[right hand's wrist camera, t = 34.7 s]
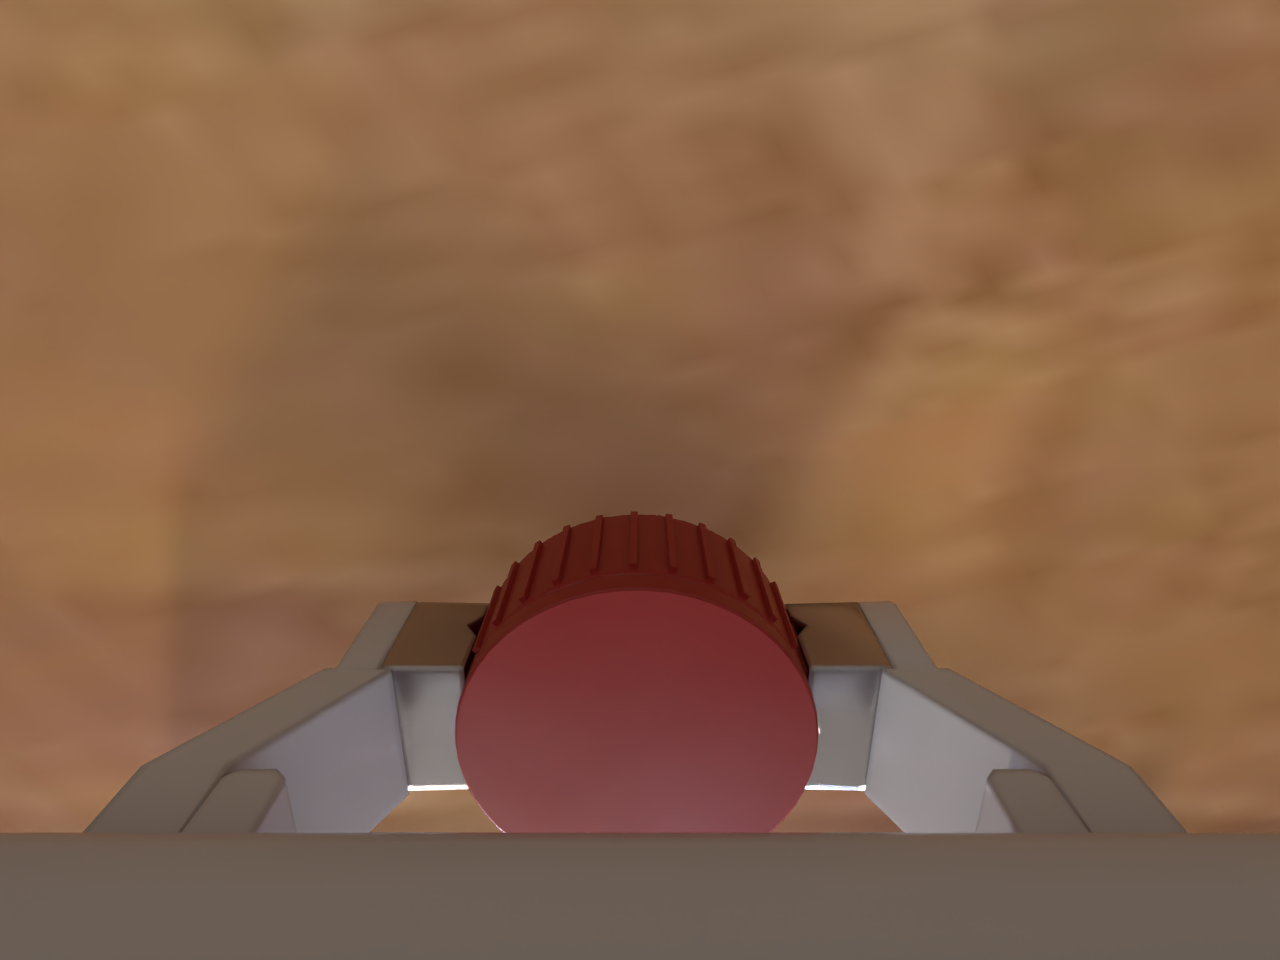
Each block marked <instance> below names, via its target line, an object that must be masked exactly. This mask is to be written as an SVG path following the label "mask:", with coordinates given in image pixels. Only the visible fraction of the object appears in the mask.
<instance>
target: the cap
mask: <svg viewBox="0 0 1280 960" xmlns="http://www.w3.org/2000/svg"><path fill="white" fill-rule="evenodd" d="M797 639H798V636H797V633H796V630H795V627H794V625H793V624H792V623H790V620H789V617H788V614H787V612H786V609H785V606H784V603H783V600H782V597H781V595H780V592H779V589H778V586H777V584H776V583H775V581H774V582H772V583H770V582H769V580H768V578H767V577H766V575H765V574H764V573H763V572H762V569H761V566H760V563H759V561H758V560H757V559H756V558H754V559H753V560H752V559H750V558H749V557H748V556H747V555H746V554H745V553H744V552H743V551H741V550H740V549H739V548H738V547H736V543H735V540H733V539H731V538H729V539H728V540H726V539H724V538H723V537H721V536H719V535H717V534H715V533H714V532H712V531H709V530H708V529H706V526H705V525H704V524H702V523H699V525H698V526H697V525H694V524H691V523H688V522H685V521H681V520H676V519H673V517H672V515H670V514H666V516H665V517H663V516H656V515H638V512H631V515H621V516H614V517H603V515H599V516H596V520H593V521H590V522H587V523H583V524H580V525H577V526H575V527H572V528H571V527H570V525H567V526H565V527H564V528H563V532H561V533H559V534H557V535H555V536H553V537H552V538H550V539H548V540H547V541H545V542H543V543H542V542H541V541H538V542H537V543H535V546H534V549H533V551H532V552H530V553H529V554H528V555H527V556H526V557H525V558H524V559H523V560H522V561H521V562H520V563H517V562H516V561H515V562H514V563H513V564H512V566H511V569H510V572H509V575H508V577H507V579H506V580H505V582H504V583H503V585H502V587H499V586H496V588H495V590H494V593H493V596H492V598H491V601H490V604H489V606H488V609H487V612H486V615H485V617H484V620H483V623H482V625H481V628H480V630H479V631H478V634H477V637H476V642H475V644H474V647H473V650H472V651H473V652H475V655H474V658H473V661H472V663H471V666H470V669H469V671H468V674H467V677H466V678H467V679H466V682H465V685H464V688H463V690H462V693H461V696H460V699H459V702H458V708H457V713H456V719H455V744H456V750H457V757H458V761H459V765H460V768H461V771H462V774H463V777H464V780H465V782H466V784H467V786H468V788H469V790H470V792H471V794H472V796H473V797H474V799H475V800H476V802H477V803H478V805H479V806H480V808H481V809H482V811H483V812H484V813H485V814H486V815H487V816H488V818H489V819H490V820H491V821H492V822H493V823H494V824H495V825H496V826H497V827H498V828H499V829H500V830H501V831H502V832H503V833H771V832H772V831H773V830H774V829H775V828H776V827H777V826H778V825H779V824H780V823H781V822H782V821H783V820H784V819H785V817H786V816H787V815H788V814H789V812H790V811H791V810H792V809H793V807H794V806H795V805H796V803H797V802H798V800H799V798H800V796H801V795H802V793H803V791H804V790H805V788H806V785H807V783H808V781H809V778H810V776H811V773H812V771H813V767H814V763H815V758H816V754H817V749H818V735H819V728H818V717H817V710H816V706H815V702H814V699H813V695H812V691H811V688H810V686H809V683H808V680H807V669H806V666H805V663H804V661H803V658H802V655H801V652H800V650H799V646H798V643H797Z"/></svg>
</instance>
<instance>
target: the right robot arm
mask: <svg viewBox="0 0 1280 960" xmlns="http://www.w3.org/2000/svg"><path fill="white" fill-rule="evenodd" d="M489 604H490V603H444V602H420V603H418V602H417V601H411V602H383V603H380V604H378V605H377V606H376V608H375V609H374V611H373V612H372V614H371V616H370V617H369V619H368V620H367V622H366V623H365V625H364V626H363V628H362V629H361V631H360V632H359V634H358V635H357V637H356V639H355V640H354V642H353V643H352V645H351V646H350V648H349V649H348V651H347V652H346V654H345V655H344V657H343V659H342V660H341V662H340V663H339V665H338V666H337V668H336V669H323V670H321V671H319V672H317V673H315V674H314V675H312V676H310V677H308V678H306V679H304V680H302V681H300V682H299V683H297V684H295V685H293V686H291V687H289V688H287V689H285V690H283V691H282V692H280V693H278V694H276V695H274V696H272V697H270V698H268V699H267V700H265V701H263V702H261V703H259V704H257V705H255V706H253V707H251V708H250V709H248V710H246V711H244V712H242V713H240V714H238V715H236V716H235V717H233V718H231V719H229V720H227V721H225V722H223V723H221V724H219V725H218V726H216V727H214V728H212V729H210V730H208V731H206V732H204V733H203V734H201V735H199V736H197V737H195V738H193V739H191V740H189V741H187V742H186V743H184V744H182V745H180V746H178V747H176V748H174V749H172V750H171V751H169V752H167V753H165V754H163V755H161V756H159V757H157V758H155V759H154V760H152V761H150V762H148V763H146V764H144V765H142V766H141V767H140V768H139V769H138V770H137V772H136V773H135V774H134V775H133V776H132V777H131V778H130V779H129V781H128V782H127V783H126V784H125V785H124V786H123V787H122V789H121V790H120V791H119V792H118V793H117V794H116V795H115V796H114V798H113V799H112V800H111V801H110V802H109V803H108V804H107V806H106V807H105V808H104V809H103V810H102V811H101V812H100V814H99V815H98V816H97V817H96V818H95V819H94V820H93V821H92V823H91V824H90V825H89V826H88V827H87V828H86V829H85V831H84V832H83V833H0V960H1280V833H1188V832H1187V831H1186V830H1185V829H1184V827H1183V826H1182V825H1181V824H1180V823H1179V822H1178V820H1177V819H1176V818H1175V817H1174V816H1173V815H1172V813H1171V812H1170V811H1169V810H1168V809H1167V808H1166V806H1165V805H1164V804H1163V803H1162V802H1161V801H1160V799H1159V798H1158V797H1157V796H1156V795H1155V794H1154V793H1153V791H1152V790H1151V789H1150V788H1149V787H1148V786H1147V784H1146V783H1145V782H1144V781H1143V780H1142V779H1141V777H1140V776H1139V775H1138V774H1137V773H1136V772H1135V770H1134V769H1133V768H1132V767H1131V766H1129V765H1127V764H1125V763H1123V762H1121V761H1119V760H1117V759H1116V758H1114V757H1112V756H1110V755H1108V754H1106V753H1104V752H1103V751H1101V750H1099V749H1097V748H1095V747H1093V746H1091V745H1090V744H1088V743H1086V742H1084V741H1082V740H1080V739H1078V738H1077V737H1075V736H1073V735H1071V734H1069V733H1067V732H1065V731H1064V730H1062V729H1060V728H1058V727H1056V726H1054V725H1052V724H1051V723H1049V722H1047V721H1045V720H1043V719H1041V718H1039V717H1038V716H1036V715H1034V714H1032V713H1030V712H1028V711H1026V710H1025V709H1023V708H1021V707H1019V706H1017V705H1015V704H1013V703H1012V702H1010V701H1008V700H1006V699H1004V698H1002V697H1000V696H999V695H997V694H995V693H993V692H991V691H989V690H987V689H986V688H984V687H982V686H980V685H978V684H976V683H974V682H973V681H971V680H969V679H967V678H965V677H963V676H961V675H959V674H958V673H956V672H954V671H952V670H950V669H937V667H936V666H935V664H934V663H933V661H932V660H931V658H930V657H929V655H928V653H927V652H926V650H925V649H924V647H923V646H922V644H921V643H920V641H919V639H918V638H917V636H916V635H915V633H914V632H913V630H912V629H911V627H910V626H909V624H908V622H907V621H906V619H905V618H904V616H903V615H902V613H901V612H900V610H899V609H898V607H897V605H896V604H894V603H892V602H891V601H882V602H858V603H857V602H849V603H808V604H784V606H785V609H786V612H787V614H788V617H789V620H790V623H792V624H793V625H794V627H795V630H796V633H797V636H798V639H797V643H798V646H799V650H800V652H801V655H802V658H803V661H804V663H805V666H806V669H807V680H808V683H809V686H810V688H811V691H812V695H813V699H814V702H815V706H816V710H817V717H818V728H819V735H818V749H817V754H816V758H815V763H814V767H813V771H812V773H811V776H810V778H809V781H808V783H807V785H806V788H805V789H823V790H860V791H865V795H866V796H868V797H869V798H870V799H871V800H872V801H873V802H874V803H875V804H876V805H877V806H878V807H879V808H880V809H881V810H882V811H883V812H884V813H885V814H886V815H887V816H888V817H889V818H890V819H891V820H892V821H893V822H894V823H895V824H897V825H898V826H899V827H900V828H901V829H902V830H903V831H904V832H905V833H369V832H370V831H371V830H372V829H373V828H374V827H375V826H376V825H377V824H378V823H379V822H380V821H381V820H382V819H384V818H385V817H386V816H387V815H388V814H389V813H390V812H391V811H392V810H393V809H394V808H395V807H396V806H397V805H398V804H399V803H400V802H401V801H402V800H403V799H405V798H406V797H407V796H408V795H409V791H414V790H449V789H469V788H468V786H467V784H466V782H465V780H464V777H463V774H462V771H461V768H460V765H459V761H458V757H457V750H456V744H455V719H456V713H457V708H458V702H459V699H460V696H461V693H462V690H463V688H464V685H465V682H466V679H467V678H466V677H467V674H468V671H469V669H470V666H471V663H472V661H473V658H474V655H475V652H473V651H472V650H473V647H474V644H475V642H476V637H477V634H478V631H479V630H480V628H481V625H482V623H483V620H484V617H485V615H486V612H487V609H488V606H489Z"/></svg>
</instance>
